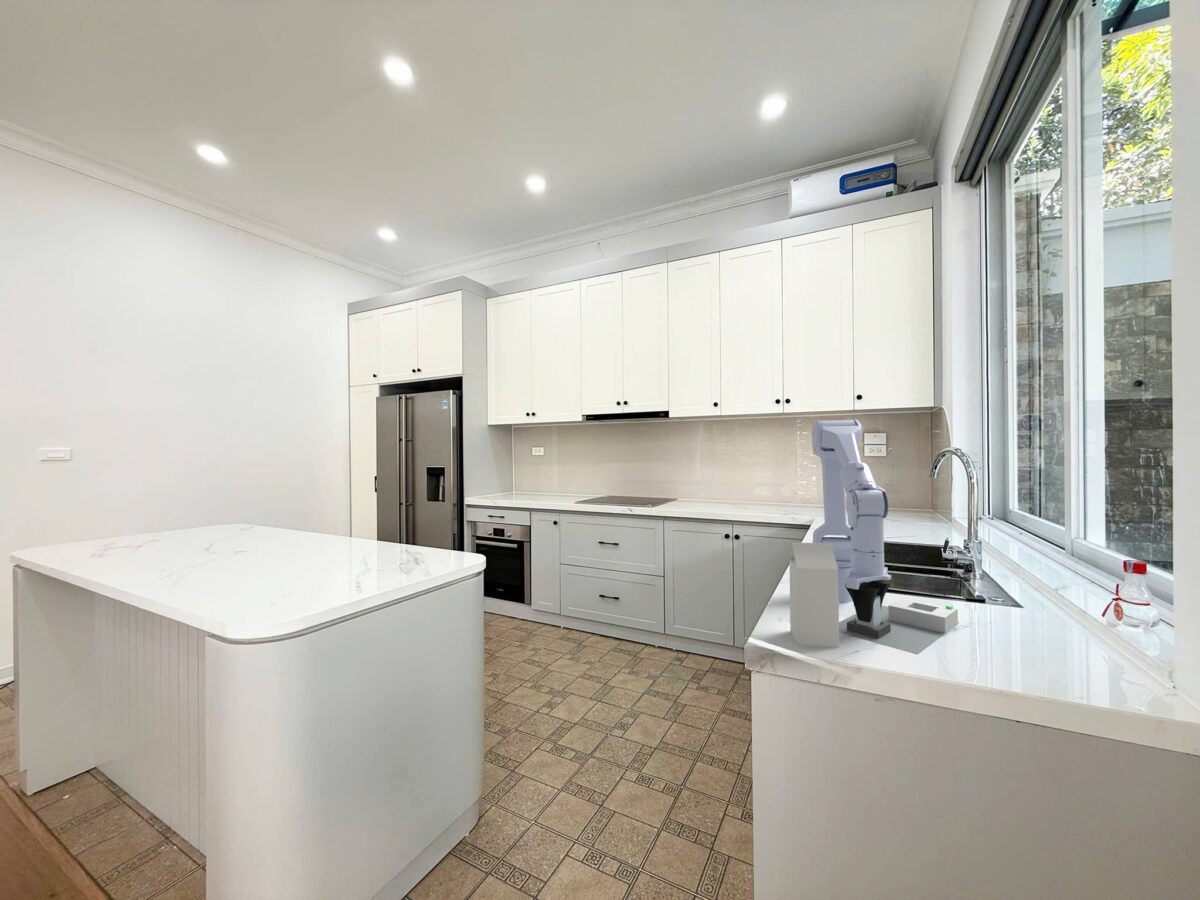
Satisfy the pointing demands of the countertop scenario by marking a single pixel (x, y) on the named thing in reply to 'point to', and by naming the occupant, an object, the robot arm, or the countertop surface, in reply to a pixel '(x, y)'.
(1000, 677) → the countertop surface
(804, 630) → the milk carton
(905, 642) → the panel
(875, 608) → the plug
